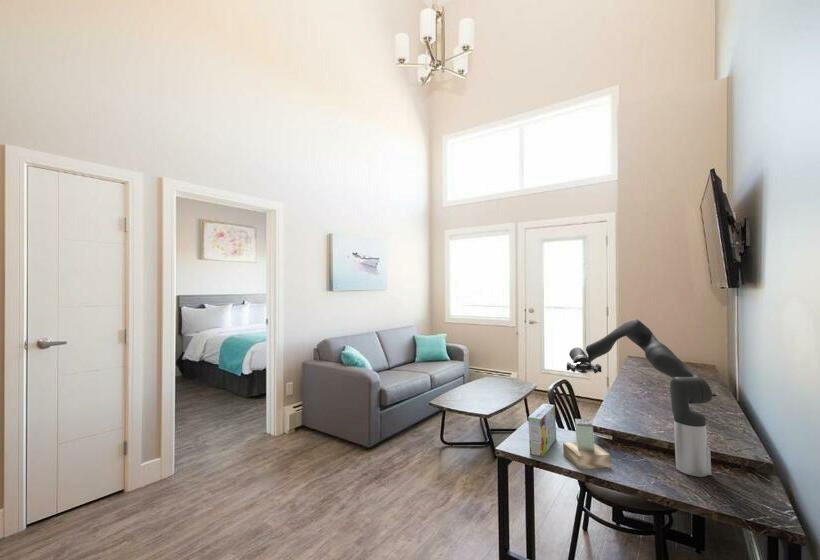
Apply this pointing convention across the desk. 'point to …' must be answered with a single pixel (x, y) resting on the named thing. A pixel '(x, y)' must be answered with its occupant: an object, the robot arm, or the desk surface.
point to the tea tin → (584, 435)
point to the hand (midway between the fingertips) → (584, 370)
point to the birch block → (586, 456)
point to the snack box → (542, 429)
